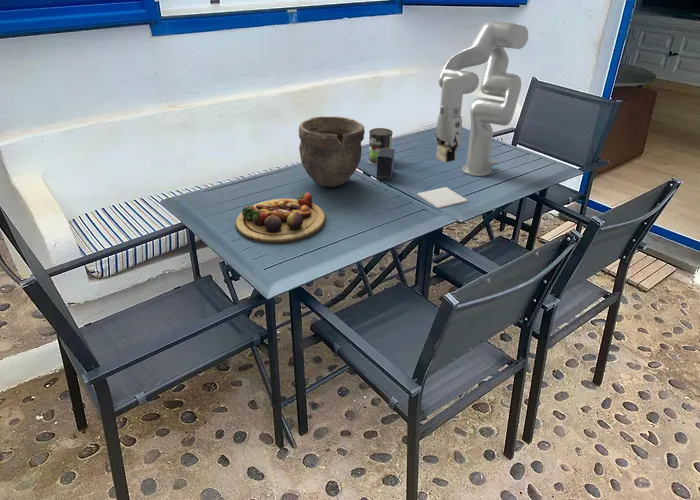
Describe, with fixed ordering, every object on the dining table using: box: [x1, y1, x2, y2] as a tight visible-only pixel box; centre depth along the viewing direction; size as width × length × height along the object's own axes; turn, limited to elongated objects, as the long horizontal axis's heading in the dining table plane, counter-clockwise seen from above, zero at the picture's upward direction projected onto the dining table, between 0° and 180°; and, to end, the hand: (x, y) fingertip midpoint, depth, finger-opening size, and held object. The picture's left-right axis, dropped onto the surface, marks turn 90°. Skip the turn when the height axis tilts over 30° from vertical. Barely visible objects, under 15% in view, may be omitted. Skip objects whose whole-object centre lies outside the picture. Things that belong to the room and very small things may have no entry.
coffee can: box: [368, 127, 394, 166], centre depth 244 cm, size 10×10×14 cm
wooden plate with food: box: [235, 192, 326, 245], centre depth 195 cm, size 32×32×8 cm
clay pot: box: [298, 116, 366, 188], centre depth 220 cm, size 26×26×25 cm
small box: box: [375, 148, 396, 181], centre depth 231 cm, size 11×6×10 cm, turn 168°
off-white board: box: [416, 186, 468, 209], centre depth 214 cm, size 14×14×1 cm
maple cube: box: [436, 143, 457, 163], centre depth 205 cm, size 5×5×5 cm
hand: (445, 157), depth 206 cm, fingers closed on maple cube, 4 cm apart
